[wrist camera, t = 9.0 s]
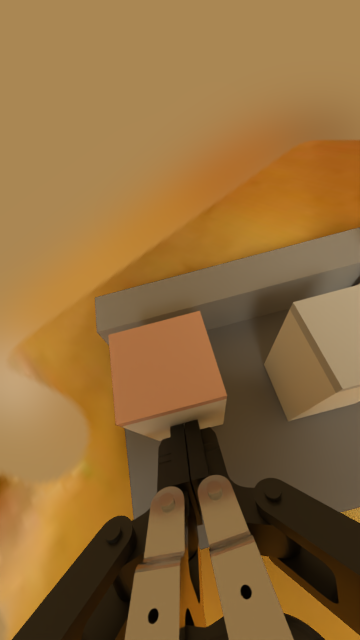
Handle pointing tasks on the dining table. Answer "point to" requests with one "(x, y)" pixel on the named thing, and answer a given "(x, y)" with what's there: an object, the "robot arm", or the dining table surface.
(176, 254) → the dining table surface
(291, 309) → the beige tall block
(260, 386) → the grey base
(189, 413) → the beige and orange block
